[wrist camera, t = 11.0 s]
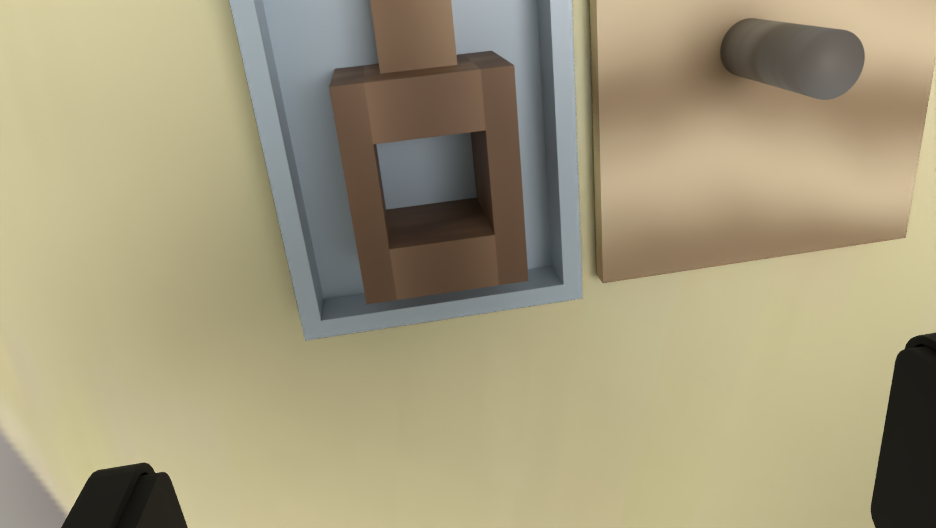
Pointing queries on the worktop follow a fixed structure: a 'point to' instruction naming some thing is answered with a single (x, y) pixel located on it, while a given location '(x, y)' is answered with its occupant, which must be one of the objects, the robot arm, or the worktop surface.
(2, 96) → the worktop surface
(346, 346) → the worktop surface
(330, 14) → the tray
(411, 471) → the worktop surface
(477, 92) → the collar
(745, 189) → the stake board
